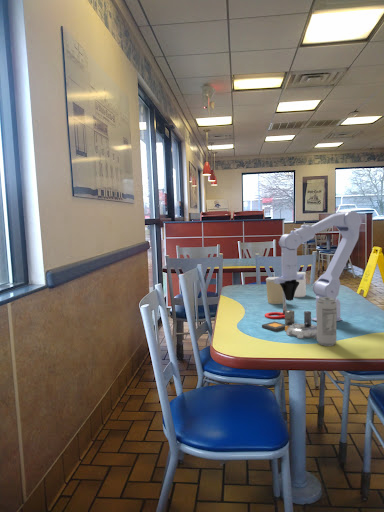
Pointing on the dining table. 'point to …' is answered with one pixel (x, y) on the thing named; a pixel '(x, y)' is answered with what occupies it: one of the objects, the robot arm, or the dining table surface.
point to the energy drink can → (326, 321)
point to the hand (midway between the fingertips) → (289, 300)
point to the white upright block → (301, 286)
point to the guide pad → (274, 326)
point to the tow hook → (282, 315)
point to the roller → (289, 317)
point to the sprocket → (303, 328)
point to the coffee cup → (274, 291)
